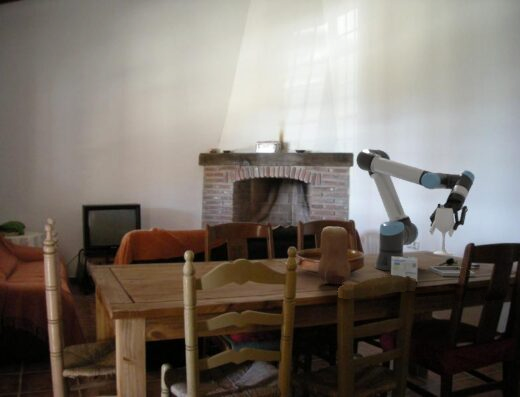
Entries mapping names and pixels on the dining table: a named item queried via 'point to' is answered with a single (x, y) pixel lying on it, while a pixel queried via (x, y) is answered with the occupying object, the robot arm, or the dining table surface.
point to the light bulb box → (404, 266)
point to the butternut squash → (334, 256)
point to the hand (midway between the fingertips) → (440, 233)
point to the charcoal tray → (448, 271)
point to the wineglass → (444, 226)
